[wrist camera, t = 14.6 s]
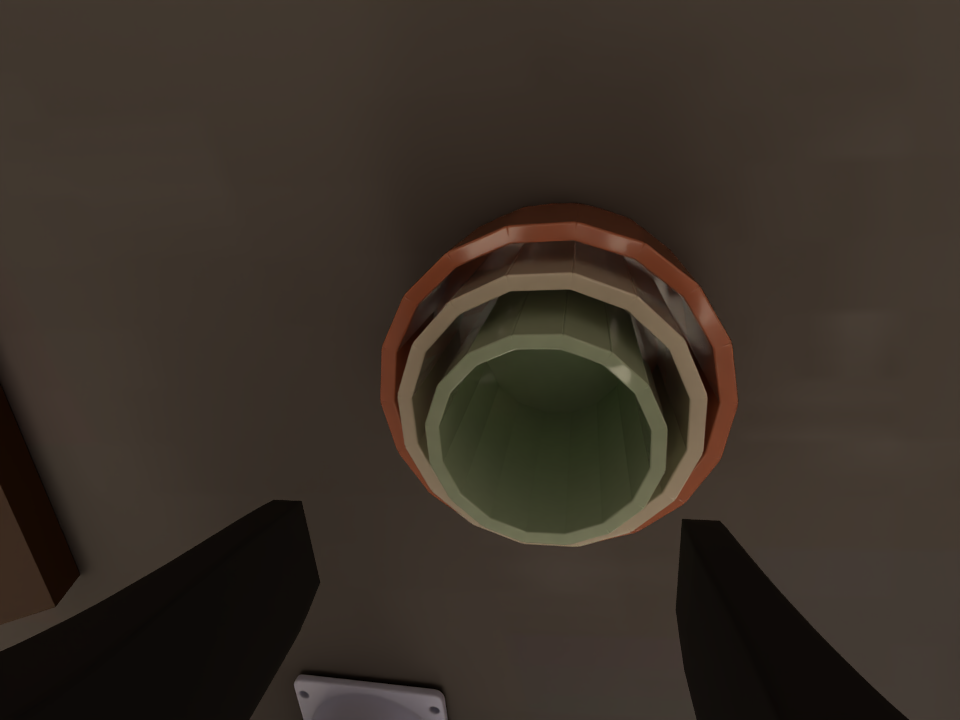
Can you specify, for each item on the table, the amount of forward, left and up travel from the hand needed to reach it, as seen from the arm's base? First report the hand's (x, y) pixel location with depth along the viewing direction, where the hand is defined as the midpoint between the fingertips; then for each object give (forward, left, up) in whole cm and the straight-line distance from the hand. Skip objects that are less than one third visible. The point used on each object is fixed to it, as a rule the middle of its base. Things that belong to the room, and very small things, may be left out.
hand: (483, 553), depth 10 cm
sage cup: (+1, -1, -10) cm, 10 cm away
